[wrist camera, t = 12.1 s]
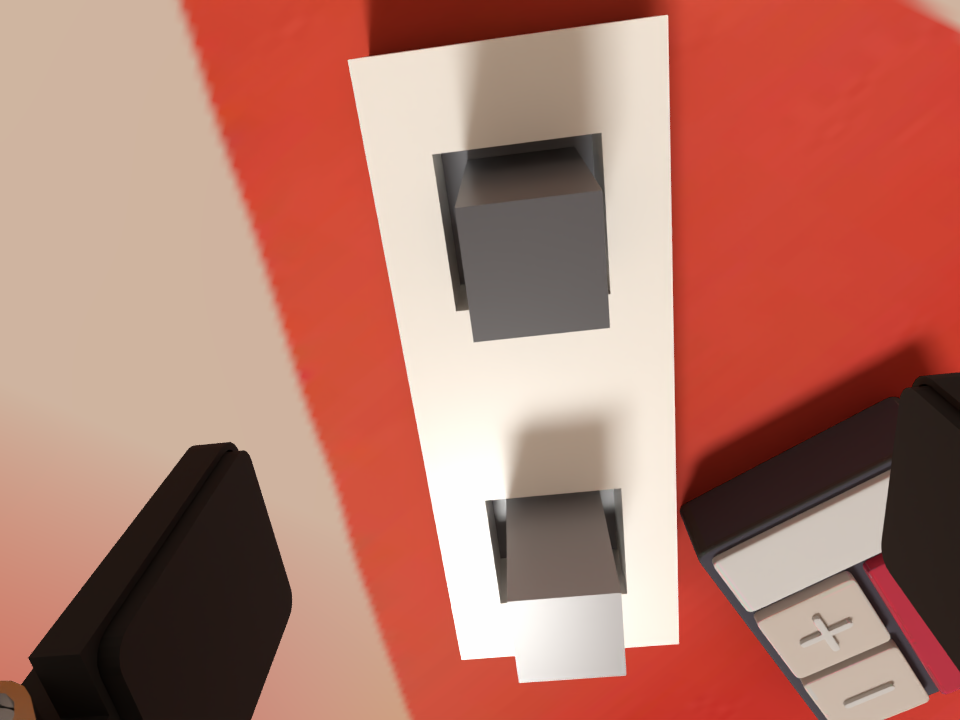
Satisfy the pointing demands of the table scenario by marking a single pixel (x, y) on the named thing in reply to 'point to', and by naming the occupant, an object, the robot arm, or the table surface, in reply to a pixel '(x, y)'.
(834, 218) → the table surface
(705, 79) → the table surface
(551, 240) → the plug
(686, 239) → the table surface
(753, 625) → the calculator
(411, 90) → the power strip
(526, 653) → the grey square peg
